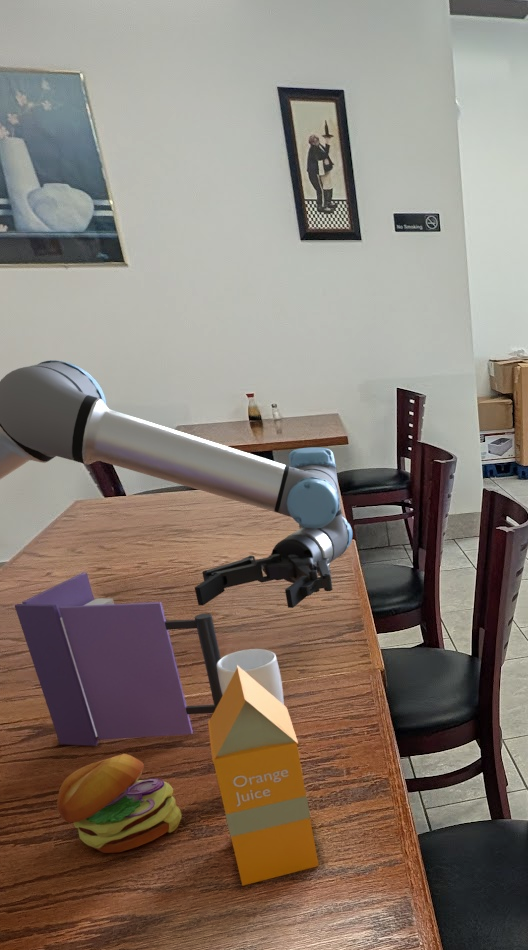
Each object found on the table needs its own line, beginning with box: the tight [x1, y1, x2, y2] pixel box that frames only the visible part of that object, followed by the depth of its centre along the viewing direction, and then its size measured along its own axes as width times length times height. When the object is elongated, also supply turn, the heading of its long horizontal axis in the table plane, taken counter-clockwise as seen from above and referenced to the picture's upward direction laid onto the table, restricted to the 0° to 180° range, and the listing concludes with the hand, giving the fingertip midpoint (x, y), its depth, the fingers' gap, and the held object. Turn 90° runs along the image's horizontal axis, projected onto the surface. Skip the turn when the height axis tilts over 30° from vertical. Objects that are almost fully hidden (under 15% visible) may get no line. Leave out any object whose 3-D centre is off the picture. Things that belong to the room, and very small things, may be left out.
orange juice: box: [207, 665, 320, 887], centre depth 82 cm, size 8×9×20 cm
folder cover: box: [59, 601, 222, 741], centre depth 105 cm, size 2×18×18 cm, turn 95°
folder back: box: [14, 571, 115, 747], centre depth 110 cm, size 5×13×20 cm, turn 174°
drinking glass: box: [217, 648, 285, 706], centre depth 99 cm, size 7×7×15 cm
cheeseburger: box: [56, 753, 183, 854], centre depth 89 cm, size 10×11×10 cm
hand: (243, 597), depth 118 cm, fingers open, 13 cm apart
